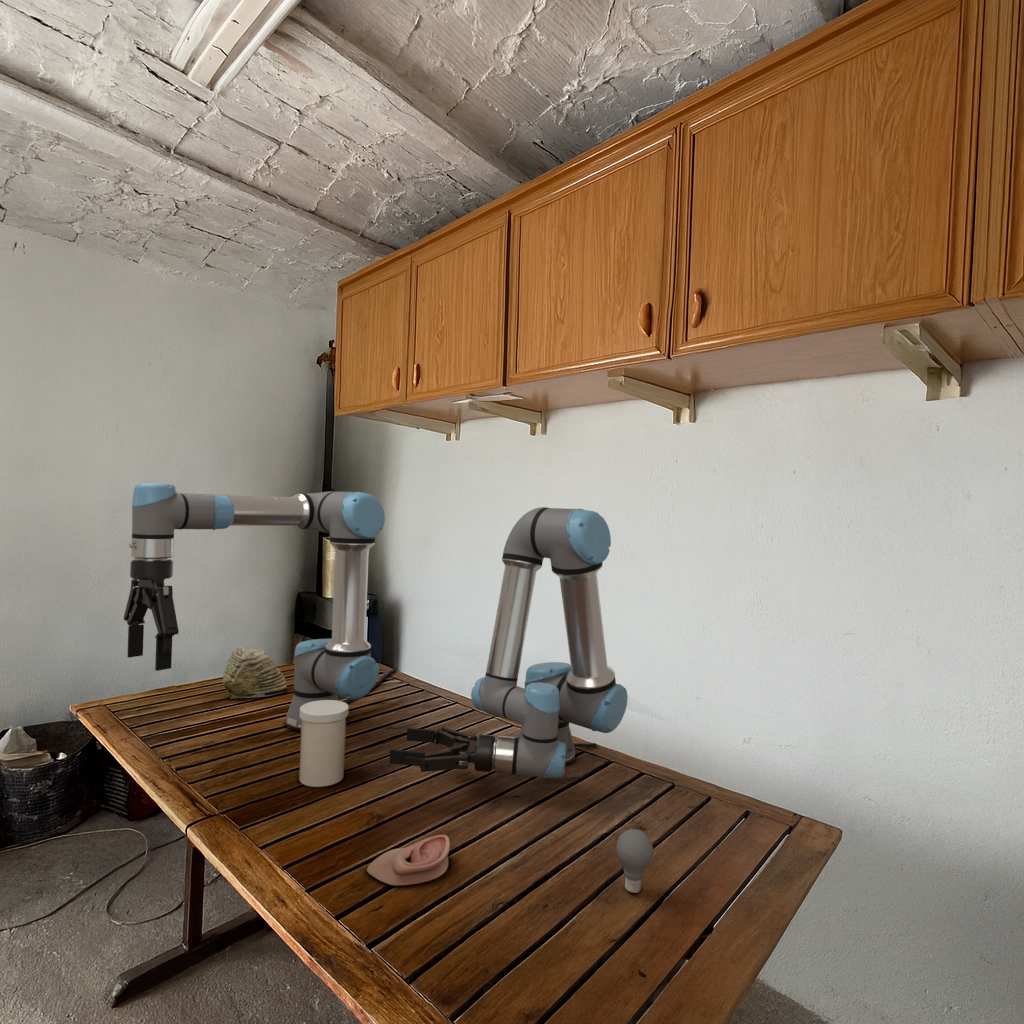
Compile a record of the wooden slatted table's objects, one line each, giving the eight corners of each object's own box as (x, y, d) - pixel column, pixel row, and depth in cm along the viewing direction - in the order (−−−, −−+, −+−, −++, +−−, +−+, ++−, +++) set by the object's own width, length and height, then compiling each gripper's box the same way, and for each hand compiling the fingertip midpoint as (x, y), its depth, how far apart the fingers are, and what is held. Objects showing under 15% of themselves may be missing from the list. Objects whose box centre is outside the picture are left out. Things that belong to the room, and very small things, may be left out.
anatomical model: (359, 856, 105) (387, 822, 116) (358, 879, 105) (386, 843, 116) (435, 869, 102) (456, 833, 114) (434, 893, 103) (455, 855, 114)
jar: (307, 767, 148) (310, 701, 148) (349, 769, 148) (351, 703, 147) (292, 785, 138) (295, 715, 138) (336, 788, 138) (339, 717, 138)
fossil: (218, 695, 195) (220, 647, 195) (278, 685, 208) (279, 640, 207) (228, 703, 189) (230, 653, 188) (289, 692, 201) (290, 645, 201)
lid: (309, 706, 148) (309, 698, 148) (353, 708, 148) (354, 701, 148) (292, 721, 138) (292, 714, 138) (340, 724, 137) (340, 716, 137)
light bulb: (610, 879, 108) (613, 822, 108) (644, 879, 109) (647, 822, 109) (619, 902, 102) (622, 840, 102) (655, 901, 103) (658, 840, 103)
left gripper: (108, 554, 134) (104, 654, 134) (159, 565, 118) (155, 678, 119) (146, 552, 140) (143, 648, 140) (199, 563, 124) (195, 671, 124)
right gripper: (485, 796, 125) (381, 785, 127) (500, 750, 150) (412, 741, 152) (487, 758, 125) (383, 748, 127) (501, 718, 150) (414, 710, 152)
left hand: (148, 662), depth 129 cm, fingers open, 13 cm apart
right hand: (399, 744), depth 140 cm, fingers open, 13 cm apart
